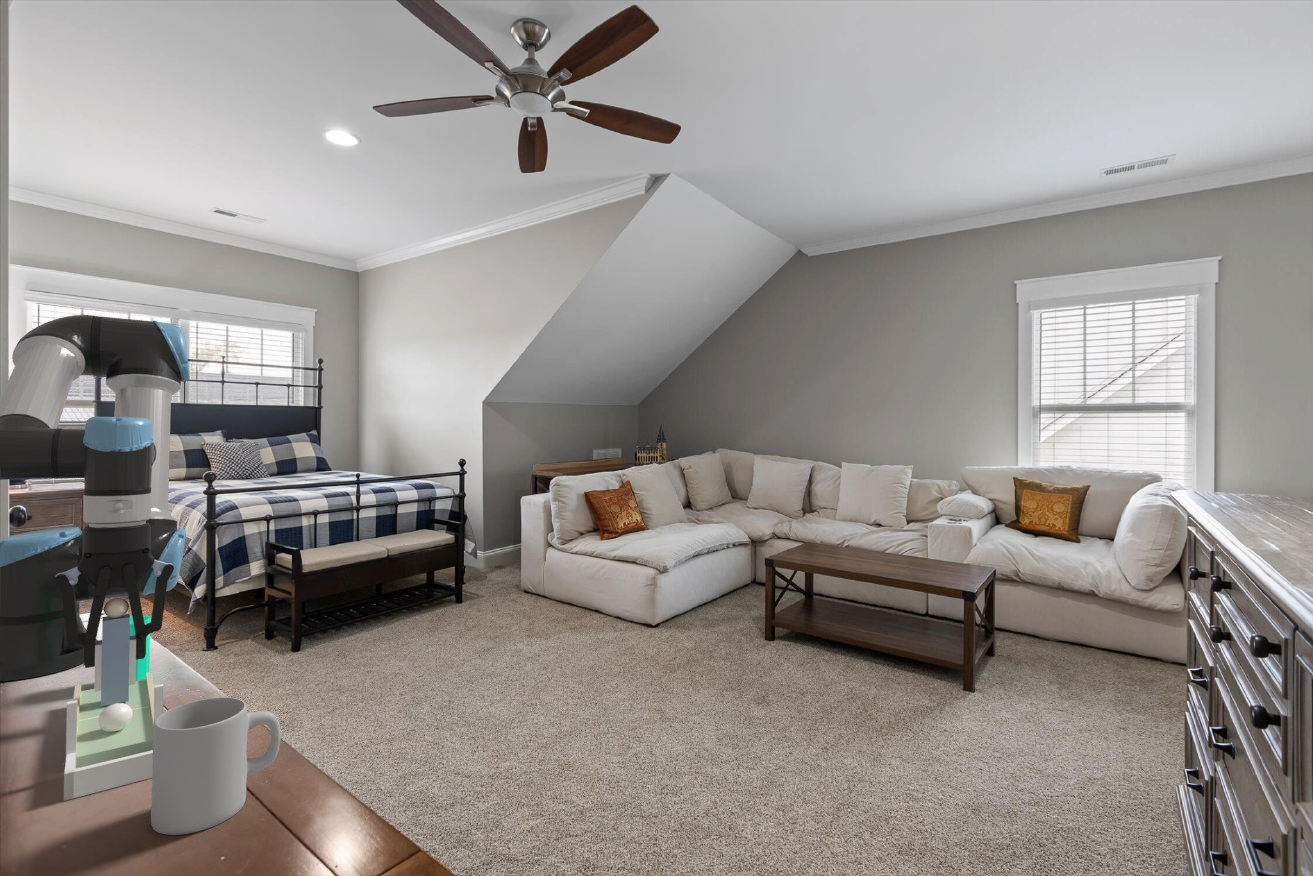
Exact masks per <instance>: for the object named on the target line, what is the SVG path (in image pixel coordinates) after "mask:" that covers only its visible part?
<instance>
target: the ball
mask: <svg viewBox="0 0 1313 876" xmlns="http://www.w3.org/2000/svg"><path fill="white" fill-rule="evenodd" d="M132 717H133V711H132V709H131V707H130V706H129V705H127V704H124V703H116V704H112V705H110V706H108V707H106V708H105V709H104V710H103V711H102V712H101V714H100V716H99V718H98V724H99V726H100V728H101V729H102V730H104V731H107V732H116V731H119V730H121V729H123V728H125V727H126V726H127V725H128V724H129V723H130V721H131V720H132Z"/></svg>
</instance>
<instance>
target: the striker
mask: <svg viewBox="0 0 1313 876" xmlns="http://www.w3.org/2000/svg"><path fill="white" fill-rule="evenodd" d="M129 609H130V603H129V602H128V601H127V600H126V599H125V598H123V597H113V598H110V600H108V601H107V602H106V603H105V604H104V605H103V613H104V615H105V616H102V625H101V628H102V630H101V631H102V632H101V638H102V639H101V640H102V679H101V706H105V705H110V704H115V703H120V702H125V701H129V643H130V616H131V615H130V613H128V614H127V611H128V612H129Z"/></svg>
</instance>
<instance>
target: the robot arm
mask: <svg viewBox="0 0 1313 876" xmlns="http://www.w3.org/2000/svg"><path fill="white" fill-rule="evenodd" d="M184 333H185V332H184V331H183V329H182V328H181V327H180V326H179V325H177V324H174V323H169V322H162V321H157V320H152V321H151V320H142V319H132V318H120V317H111V316H109V317H108V316H101V315H100V316H99V315H91V314H75V315H68V316H62V317H60V318H59V317H58V318H55V319H52V320H49V321H47V322H44V323H43V324H40V325H38V326H36V327H35V328H32V329H31V330H30V331H27V333H26V334H25V335H23V336H22V337H21V338H20V339H19V341H18V342H17V343H16V345H15V347H14V349H13V351H12V355H11V356H12V357H11V358H12V363H13V365H14V367H13V370H12V372H11V374H10V376H9V378H8V380H7V382H6V385H5V386H4V387H3V388H4V389H3V390H2V392H1V395H0V481H2V480H3V481H5V480H6V481H7V480H8V481H10V480H36V479H37V480H39V479H41V480H42V479H84V489H83V500H82V502H83V505H82V508H83V512H82V513H83V517H82V518H83V519H82V521H83V522H84V523H86V524H87V525H86V526H85V527H84V528H83V529H82V530H81V528H80V527H79V526H66V527H65V526H61V527H60V526H59V527H53V528H45V529H39V530H34V531H27V532H22V533H17V534H12V535H9V536H6V537H5V536H4V537H2V538H0V682H6V681H9V682H10V681H16V680H25V679H32V678H36V677H41V676H45V675H50V674H54V673H59V672H62V671H65V670H68V669H71V668H74V667H77V666H79V665H81V664H83V666H84V667H85V668H86V669H87V668H88V669H89V668H94V682H93V683H94V684H93V685H94V686H93V689H94V692H96V691H101V679H102V639H99V640H97V637H98V633H99V627H100V623H101V617H102V613H103V610H104V606H105V604H104V603H105V601H106V600H105V599H114V598H123V597H128V600H129V602H128V603H129V608H130V612H131V616H132V618H133V623H134V629H135V635H132V636H130V643H129V685H134V684H135V677H136V660H137V659H143V658H144V657H145V655H146V637H147V636H148V635H149V634H150V635H151V634H152V633H156V632H159V631H160V630H161V629H162V627H163V620H164V611H165V602H166V595H167V592H169V591H171V590H172V589H173V588H175V587H176V585H177V583H178V581H179V577H180V571H181V567H182V562H183V557H184V552H185V551H184V550H185V544H186V543H185V542H186V538H187V531H186V529H183V528H178V519H176V517H174V516H173V515H171V514H170V512H169V482H170V446H171V442H170V441H171V411H172V410H171V409H172V407H171V405H172V396H173V395H176V393H178V392H179V391H180V390H181V389H182V388H181V385H182V382H183V383H184V382H186V381H190V367H189V360H188V359H189V358H188V350H187V344H186V339H185V334H184ZM80 376H91V377H92V376H93V377H104V378H105V385H106V386H107V387H108V388H109V389H110V390H111V391H113V392H114V394H115V396H114V397H115V398H114V413H113V414H114V416H91V417H89V418H88V419H87V420H86V422H85V426H84V427H85V428H58V426H59V425H60V421H61V417H62V414H63V412H64V408H65V405H66V403H67V399H68V396H69V393H70V390H71V387H72V385H73V381H75V380H77V379H78V378H80ZM149 594H150V595H151V594H153V601H152V602H153V603H152V612H151V616H150V617H151V619H150V623H148V624H145V623H144V618H143V616H144V613H143V609H142V602H141V598H140V597H141V595H142V596H147V595H149ZM90 600H92V602H91V605H90V606H91V608H90V611H89V617H88V620H87V626H86V627H85V625H84V623H83V620H82V618H81V615H80V601H81V602H82V601H90Z"/></svg>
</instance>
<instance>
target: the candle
mask: <svg viewBox="0 0 1313 876" xmlns="http://www.w3.org/2000/svg"><path fill="white" fill-rule="evenodd" d="M128 612H129V610H128V611H127V612H126V614H129V613H128ZM151 617H152V616H149V615H143V618H144V623H145V624H148V623H150V622H151ZM132 635H135V629H134V623H133V618H132V615H130V636H132ZM150 657H151V633H150V634H149V635H148V636H147V637H146V655H145V657H144V658H143V659H137V660H136V677H135V681H140V680H145V679H146V673H149V672H151V671H150V670H151V669H150V668H151V665H150V664H151V663H150V662H151V658H150Z"/></svg>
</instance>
